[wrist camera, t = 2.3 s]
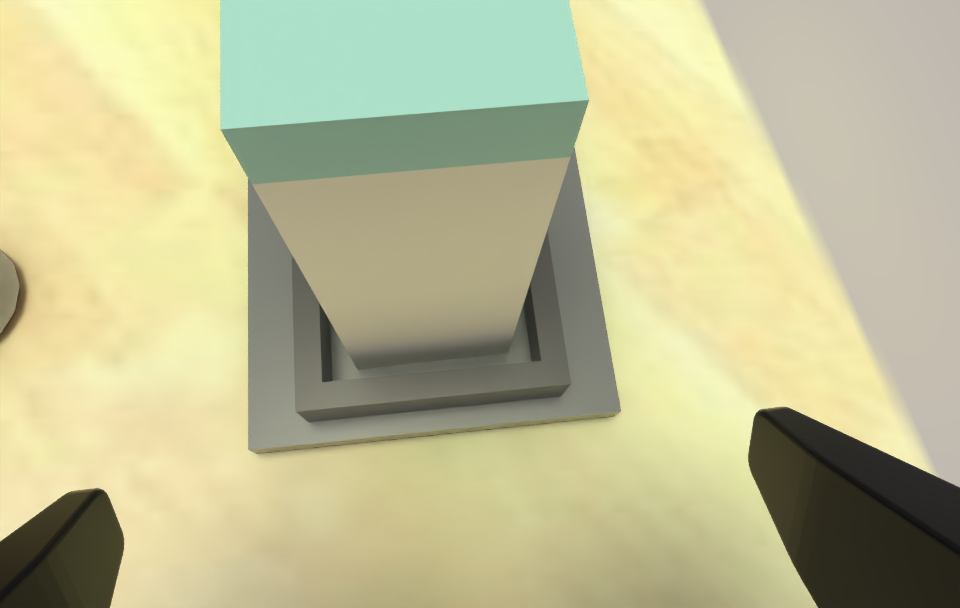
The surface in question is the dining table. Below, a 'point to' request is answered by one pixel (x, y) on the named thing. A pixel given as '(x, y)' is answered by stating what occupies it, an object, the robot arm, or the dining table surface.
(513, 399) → the board
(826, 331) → the dining table surface
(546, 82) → the plug
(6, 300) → the rook chess piece
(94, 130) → the dining table surface
